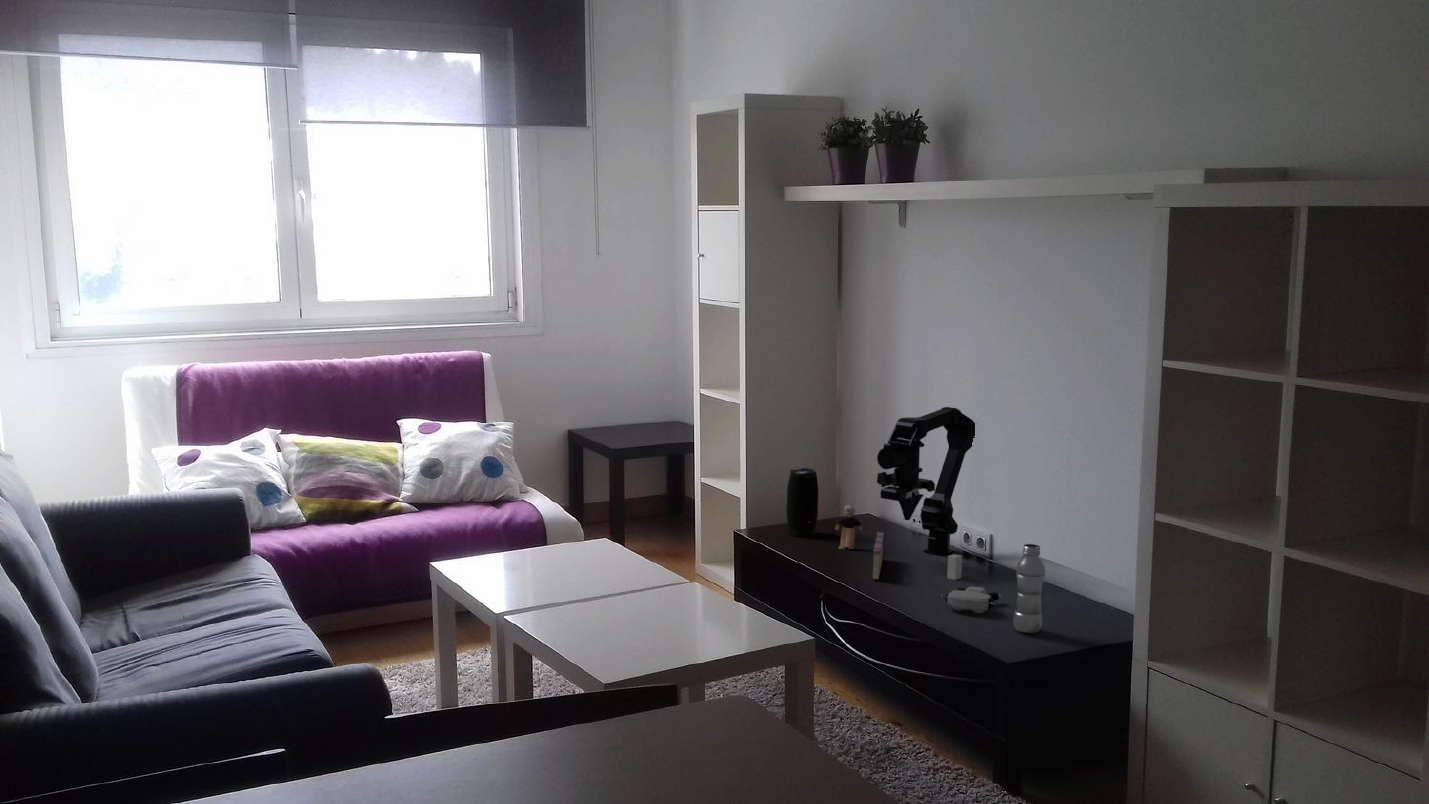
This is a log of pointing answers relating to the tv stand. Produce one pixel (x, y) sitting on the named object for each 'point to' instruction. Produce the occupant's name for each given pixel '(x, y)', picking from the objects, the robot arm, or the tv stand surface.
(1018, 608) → the plastic bottle
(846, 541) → the grandmother figurine
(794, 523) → the portable speaker
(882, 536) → the beige flat panel
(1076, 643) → the tv stand surface
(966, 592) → the robot toy
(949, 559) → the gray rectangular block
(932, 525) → the robot arm
